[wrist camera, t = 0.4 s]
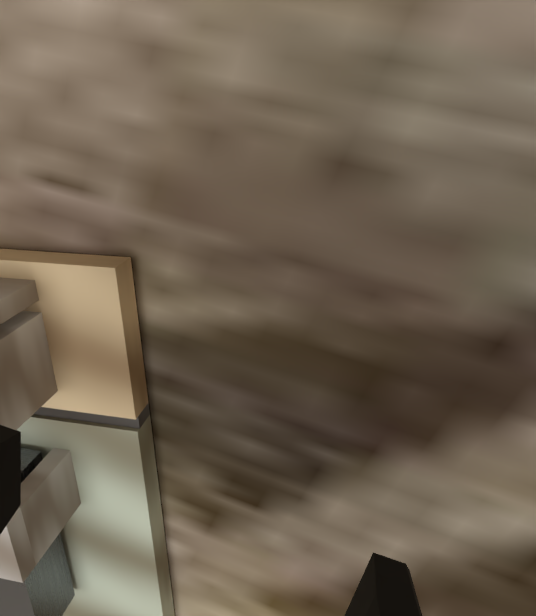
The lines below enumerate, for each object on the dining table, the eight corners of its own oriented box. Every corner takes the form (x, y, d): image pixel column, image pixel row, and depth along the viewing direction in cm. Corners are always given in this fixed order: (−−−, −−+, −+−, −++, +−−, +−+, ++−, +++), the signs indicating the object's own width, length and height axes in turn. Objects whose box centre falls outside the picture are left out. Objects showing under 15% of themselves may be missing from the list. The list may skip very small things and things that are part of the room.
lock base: (175, 624, 27) (130, 738, 23) (-20, 582, 30) (-98, 677, 25) (130, 257, 19) (43, 317, 14) (-136, 239, 21) (-286, 286, 17)
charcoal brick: (74, 595, 26) (43, 646, 23) (22, 583, 26) (-14, 632, 24) (40, 451, 22) (-1, 495, 20) (-20, 441, 23) (-67, 483, 20)
